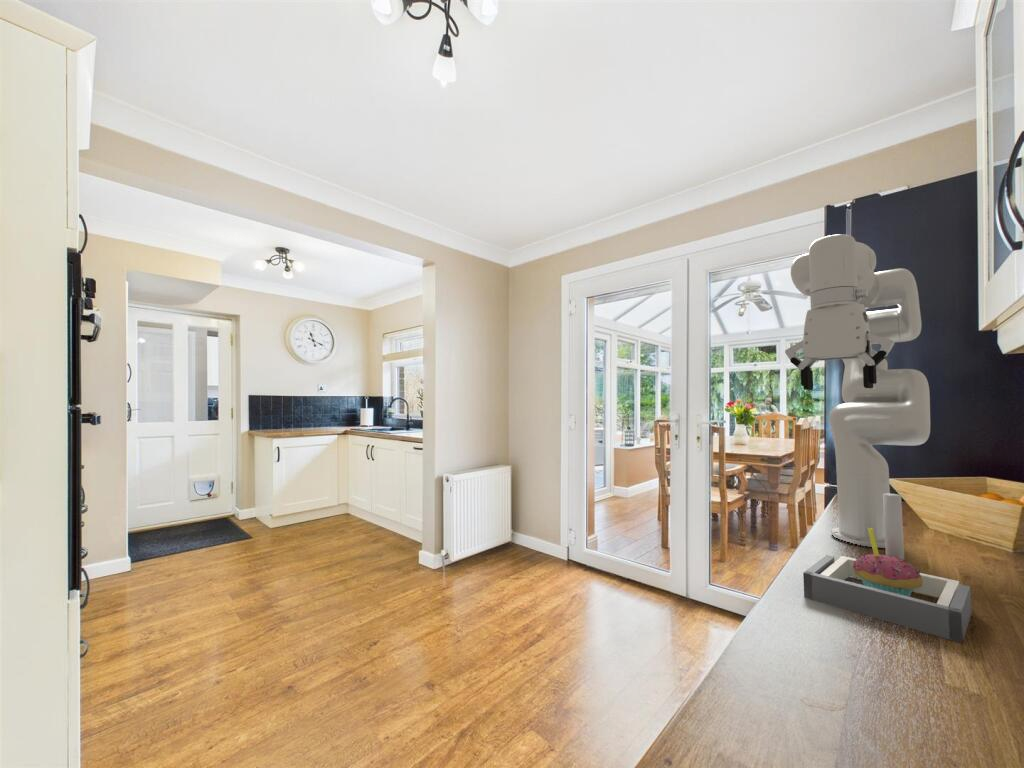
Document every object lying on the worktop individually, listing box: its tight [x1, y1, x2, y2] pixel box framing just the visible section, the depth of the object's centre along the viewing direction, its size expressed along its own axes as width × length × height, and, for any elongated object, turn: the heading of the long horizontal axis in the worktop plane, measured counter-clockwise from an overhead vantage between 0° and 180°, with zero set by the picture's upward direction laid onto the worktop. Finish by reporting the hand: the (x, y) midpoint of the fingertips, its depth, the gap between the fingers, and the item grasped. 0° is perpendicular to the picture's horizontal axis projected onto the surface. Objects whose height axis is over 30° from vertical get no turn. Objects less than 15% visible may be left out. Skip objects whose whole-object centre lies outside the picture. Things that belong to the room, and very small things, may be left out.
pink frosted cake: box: [853, 523, 923, 597], centre depth 72 cm, size 9×8×12 cm
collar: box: [820, 492, 960, 607], centre depth 72 cm, size 15×15×16 cm
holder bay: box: [802, 554, 973, 644], centre depth 70 cm, size 12×18×4 cm
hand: (837, 388), depth 84 cm, fingers open, 9 cm apart
